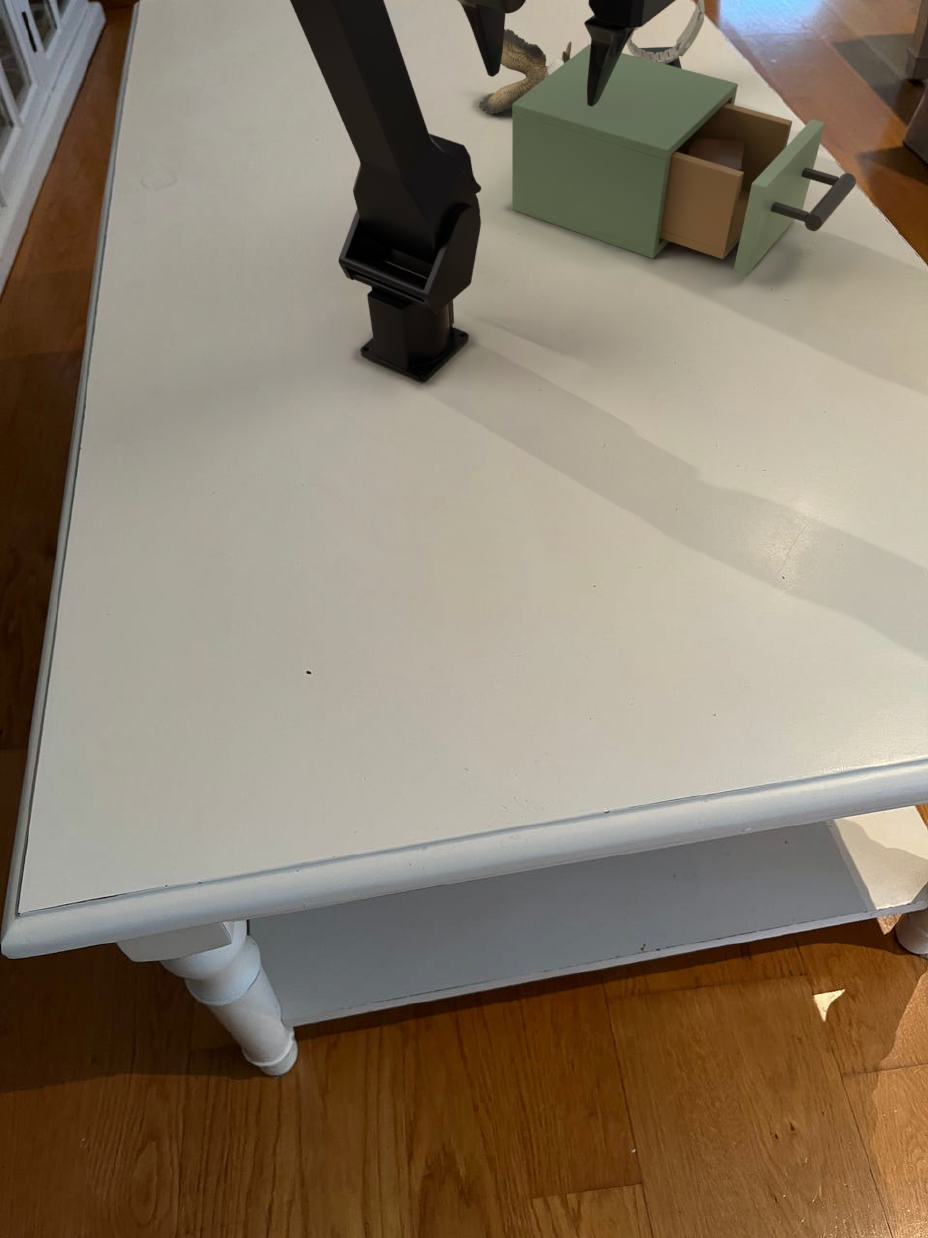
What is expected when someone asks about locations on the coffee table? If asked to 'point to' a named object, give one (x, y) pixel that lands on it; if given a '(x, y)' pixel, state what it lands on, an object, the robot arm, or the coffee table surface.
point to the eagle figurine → (526, 62)
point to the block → (718, 151)
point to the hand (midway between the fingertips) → (542, 88)
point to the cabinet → (608, 146)
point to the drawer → (747, 187)
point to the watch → (683, 43)
